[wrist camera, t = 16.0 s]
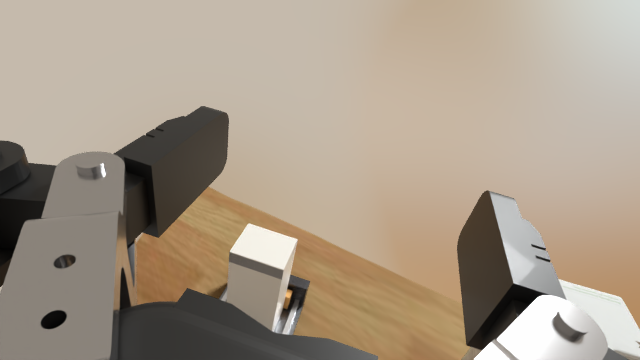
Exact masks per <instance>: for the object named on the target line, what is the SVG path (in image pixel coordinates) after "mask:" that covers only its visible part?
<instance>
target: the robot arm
mask: <svg viewBox="0 0 640 360" xmlns="http://www.w3.org/2000/svg"><path fill="white" fill-rule="evenodd" d="M228 124H229V118H228V115H227V113H225V112H222V111H219V110H215V109H212V108H208V107H205V106H202V107H200V108H198V109H197V110H195V111H194V112H192V113H191V114H189V115H188V116H186V117H184V116H182V117H178V118H175V119H171V120H167V121H166V122H164V123H163V124H161V125H159V126H158V127H156V129H153V130H151V131H150V132H148V133H146V136H145V135H143V136H141V137H140V138H138V139H137V140H135V141H134V142H132V143H130V144H129V145H127V146H125V147H124V148H122V149H120V150H119V151H117V152H116V153H114V154H111V153H106V152H86V153H81V154H77V155H73V156H70V157H68V158H66V159H64V160H63V161H61V162H60V163H59V164H58V165H57V166H54V165H44V164H34V163H28V161H27V158H26V155H25V152H24V149H23V148H22V147H21V146H20V145H18V144H16V143H13V142H9V141H0V287H1V286H2V285H3V287H2V290H1V293H0V360H378V356H376V355H373V354H370V353H367V352H365V351H362V350H359V349H356V348H353V347H351V346H348V345H345V344H342V343H339V342H337V341H334V340H331V339H326V338H316V337H307V336H297V335H288V334H279V333H275V332H273V331H271V330H269V329H268V328H267V327H265V326H264V325H262V324H261V323H259V322H258V321H256V320H255V319H253V318H252V317H250V316H249V315H247V314H246V313H244V312H243V311H242V310H240V309H239V308H237V307H236V306H234V305H233V304H230V303H228V302H225V301H222V300H219V299H216V298H214V297H211V296H208V295H205V294H202V293H200V292H197V291H194V290H191V289H188V288H187V289H186V291H185V292H184V293H183V295H182V296H181V298H180V299H179V300H178V302H152V303H145V304H140V305H137V245H136V238H137V237H138V236H139V235H140V234H141V233H142V232H143V233H146V234H149V235H152V236H155V237H158V238H159V237H160V236H161V235H162V234H163V233H164V232H165V231H166V229H167V228H168V227H169V226H170V225H171V224H172V223H173V222H174V221H175V220H176V219H177V218H178V217H179V216H180V215H181V214H182V213H183V212H184V211H185V210H186V209H187V208H188V207H189V206H190V205H191V204H192V203H193V202H194V201H195V200H196V198H197V197H198V196H199V195H200V194H201V193H202V192H203V191H204V190H205V189H206V188H207V187H208V186H209V185H210V184H211V183H212V182H213V181H214V180H215V179H216V178H217V177H218V176H219V175H220V174H221V172H222V170H223V169H224V166H225V164H226V160H227V147H228V126H229V125H228ZM545 249H546V247H545V245H544V242H543V240H542V237H541V235H540V234H539V232H537V230H536V229H535V228H534V227H533V226H532V224H530V222H529V221H528V220H525V219H522V217H521V214H520V212H519V209H518V206H517V203H516V201H515V199H514V198H511V197H508V196H504V195H501V194H498V193H494V192H490V191H485V192H484V193H483V194H482V195H481V197H480V198H479V200H478V202H477V204H476V206H475V207H474V209H473V211H472V213H471V215H470V216H469V218H468V220H467V222H466V224H465V225H464V227H463V229H462V231H461V233H460V236H459V239H458V245H457V253H458V263H459V274H460V284H461V294H462V304H463V315H464V325H465V335H466V345H467V346H470V347H473V348H476V349H479V350H482V352H481V353H480V354H479V355H478V356H477V357H476V358H475V359H474V360H629V359H627V358H626V357H624V356H622V355H620V354H619V353H617V352H615V351H613V350H612V349H610V348H608V343H607V339H606V337H605V334H604V333H603V331H602V329H601V328H600V327H599V325H598V324H597V323H596V322H595V321H594V320H593V319H592V318H591V317H590V316H589V315H588V314H587V313H586V312H585V311H583V310H582V309H581V308H579V307H578V306H576V305H575V304H573V303H571V302H569V301H567V299H566V297H565V294H564V292H563V289H562V287H561V284H560V282H559V279H558V277H557V275H556V272H555V270H554V267H553V265H552V263H550V257H549V255H548V252H547V251H545Z"/></svg>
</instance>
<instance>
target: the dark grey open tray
mask: <svg viewBox="0 0 640 360" xmlns="http://www.w3.org/2000/svg"><path fill="white" fill-rule="evenodd" d="M309 283H310V281H307V280H304V279H301V278H299V277H296V276H293V275H290V278H289V283H288V287H287V289H288V290H291V291H292V295H291V300H290V303H289V306H288V308H287V309H285V308H283V310H282V313H281V315H280V318H279V320H278V323H277V325H276V327H275V330H274V332H275V333H279V334H288V335H293V333H294V331H295V328H296V325H297V322H298V319H299V317H300V314H301V311H302V308H303V305H304V302H305V299H306V295H307V291H308V287H309ZM227 286H228V285H227ZM219 300H222V301H225V302H227V287H226V288H225V290H224V292H223V293H222V295H221V297H220V298H219Z"/></svg>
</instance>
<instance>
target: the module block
mask: <svg viewBox="0 0 640 360" xmlns="http://www.w3.org/2000/svg"><path fill="white" fill-rule="evenodd" d="M297 240H298V239H295V238H292V237H289V236H285V235H282V234H279V233H276V232H273V231H270V230H267V229H264V228H261V227H258V226H255V225H252V224H248V225H247V227H246V228H245V230H244V231H243V233H242V234H241V236H240V237H239V239H238V240H237V242H236V243H235V244H234V246H233V247H232V249H231V250H230V255H229V271H228V286H227V302H228V303H230V304H233V305H234V306H236V307H237V308H239V309H240V310H242V311H243V312H244V313H246V314H247V315H249V316H250V317H252V318H253V319H255V320H256V321H258V322H259V323H261V324H262V325H264V326H265V327H267V328H268V329H269V330H271V331H273V332H274V330H275V327H276V325H277V323H278V320H279V318H280V315H281V313H282V310H283V306H284V302H285V297H286V292H287V287H288V283H289V278H290V273H291V269H292V264H293V259H294V254H295V250H296V245H297Z"/></svg>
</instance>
